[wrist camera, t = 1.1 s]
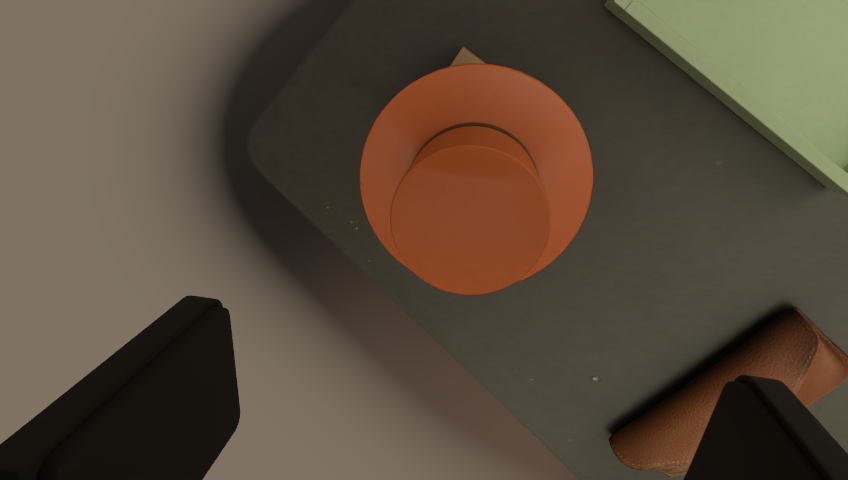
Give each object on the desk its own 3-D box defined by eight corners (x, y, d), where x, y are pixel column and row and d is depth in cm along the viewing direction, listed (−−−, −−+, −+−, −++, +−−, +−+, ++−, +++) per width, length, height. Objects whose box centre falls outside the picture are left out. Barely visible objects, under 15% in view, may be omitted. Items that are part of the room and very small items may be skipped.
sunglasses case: (673, 484, 41) (670, 526, 35) (614, 419, 43) (602, 448, 38) (865, 365, 34) (899, 392, 28) (782, 295, 37) (798, 308, 31)
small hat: (323, 205, 23) (277, 249, 18) (446, 8, 19) (431, -7, 14) (492, 320, 25) (494, 390, 20) (642, 159, 21) (694, 196, 15)
